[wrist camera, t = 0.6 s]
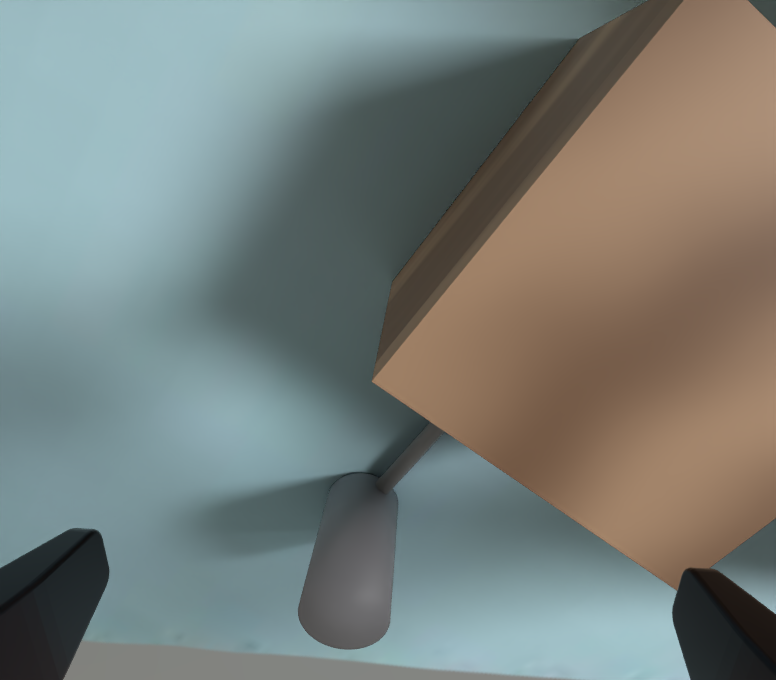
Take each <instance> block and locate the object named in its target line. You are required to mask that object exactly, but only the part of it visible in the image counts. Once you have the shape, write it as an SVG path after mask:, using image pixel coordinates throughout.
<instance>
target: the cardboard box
mask: <svg viewBox="0 0 776 680" xmlns="http://www.w3.org/2000/svg"><path fill="white" fill-rule="evenodd" d="M372 382H373V383H374V384H376V385H377V386H379V387H380V388H382V389H383V390H385V391H386V392H388V393H389V394H391V395H392V396H393V397H395V398H396V399H398V400H399V401H401V402H402V403H404V404H405V405H407V406H408V407H410V408H411V409H412V410H414V411H415V412H417V413H418V414H420V415H421V416H423V417H424V418H426V419H427V420H429V421H430V422H431V423H433V424H434V425H436V426H437V427H439V428H440V429H442V430H443V431H445V432H446V433H448V434H449V435H450V436H452V437H453V438H455V439H456V440H458V441H459V442H461V443H462V444H464V445H465V446H466V447H468V448H469V449H471V450H472V451H474V452H475V453H477V454H478V455H480V456H481V457H483V458H484V459H485V460H487V461H488V462H490V463H491V464H493V465H494V466H496V467H497V468H499V469H500V470H502V471H503V472H504V473H506V474H507V475H509V476H510V477H512V478H513V479H515V480H516V481H518V482H519V483H521V484H522V485H523V486H525V487H526V488H528V489H529V490H531V491H532V492H534V493H535V494H537V495H538V496H540V497H541V498H542V499H544V500H545V501H547V502H548V503H550V504H551V505H553V506H554V507H556V508H557V509H558V510H560V511H561V512H563V513H564V514H566V515H567V516H569V517H570V518H572V519H573V520H575V521H576V522H577V523H579V524H580V525H582V526H583V527H585V528H586V529H588V530H589V531H591V532H592V533H594V534H595V535H596V536H598V537H599V538H601V539H602V540H604V541H605V542H607V543H608V544H610V545H611V546H613V547H614V548H615V549H617V550H618V551H620V552H621V553H623V554H624V555H626V556H627V557H629V558H630V559H632V560H633V561H634V562H636V563H637V564H639V565H640V566H642V567H643V568H645V569H646V570H648V571H649V572H651V573H652V574H653V575H655V576H656V577H658V578H659V579H661V580H662V581H664V582H665V583H667V584H668V585H669V586H671V587H672V588H674V589H675V590H678V587H679V583H680V580H681V576H682V574H683V571H684V570H685V569H687V568H690V567H695V568H710V567H711V566H713V565H714V564H715V563H717V562H718V561H719V560H721V559H722V558H723V557H725V556H726V555H727V554H729V553H730V552H731V551H733V550H734V549H735V548H737V547H738V546H739V545H741V544H742V543H743V542H745V541H746V540H747V539H749V538H750V537H751V536H753V535H754V534H755V533H757V532H758V531H759V530H761V529H762V528H763V527H765V526H766V525H767V524H769V523H770V522H771V521H773V520H774V519H775V518H776V28H775V27H774V26H773V25H772V24H771V23H770V22H769V21H768V20H767V19H766V18H765V17H764V16H763V15H762V14H761V13H760V12H759V11H758V10H757V9H756V8H755V7H754V6H753V5H752V4H751V3H750V2H749V1H748V0H648V1H647V2H645V3H643V4H641V5H639V6H637V7H636V8H634V9H632V10H630V11H628V12H627V13H625V14H623V15H621V16H619V17H617V18H616V19H614V20H612V21H610V22H608V23H606V24H605V25H603V26H601V27H599V28H597V29H596V30H594V31H592V32H590V33H588V34H586V35H585V36H583V37H581V38H579V40H578V41H577V42H576V44H575V45H574V46H573V48H572V49H571V50H570V51H569V53H568V54H567V55H566V57H565V58H564V59H563V61H562V62H561V63H560V64H559V66H558V67H557V68H556V70H555V71H554V72H553V74H552V75H551V76H550V77H549V79H548V80H547V81H546V83H545V84H544V85H543V87H542V88H541V89H540V90H539V92H538V93H537V94H536V96H535V97H534V98H533V100H532V101H531V102H530V103H529V105H528V106H527V107H526V109H525V110H524V111H523V113H522V114H521V115H520V116H519V118H518V119H517V120H516V122H515V123H514V124H513V126H512V127H511V128H510V129H509V131H508V132H507V133H506V135H505V136H504V137H503V139H502V140H501V141H500V142H499V144H498V145H497V146H496V148H495V149H494V150H493V152H492V153H491V154H490V155H489V157H488V158H487V159H486V161H485V162H484V163H483V165H482V166H481V167H480V168H479V170H478V171H477V172H476V174H475V175H474V176H473V178H472V179H471V180H470V181H469V183H468V184H467V185H466V187H465V188H464V189H463V191H462V192H461V193H460V194H459V196H458V197H457V198H456V200H455V201H454V202H453V204H452V205H451V206H450V207H449V209H448V210H447V211H446V213H445V214H444V215H443V217H442V218H441V219H440V220H439V222H438V223H437V224H436V226H435V227H434V228H433V229H432V231H431V232H430V233H429V235H428V236H427V237H426V239H425V240H424V241H423V242H422V244H421V245H420V246H419V248H418V249H417V250H416V252H415V253H414V254H413V255H412V257H411V258H410V259H409V261H408V262H407V263H406V265H405V266H404V267H403V268H402V270H401V271H400V272H399V274H398V275H397V276H396V278H395V279H394V280H393V281H392V285H391V290H390V295H389V299H388V304H387V309H386V314H385V319H384V324H383V329H382V334H381V338H380V343H379V348H378V353H377V358H376V363H375V368H374V373H373V377H372Z"/></svg>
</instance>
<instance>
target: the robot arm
mask: <svg viewBox="0 0 776 680" xmlns="http://www.w3.org/2000/svg"><path fill="white" fill-rule="evenodd" d="M108 579H109V565H108V561H107V556H106V552H105V548H104V543H103V539H102V535H101V534H100V532H99V531H97V530H95V529H82V528H73V529H69V530H67V531H65V532H64V533H62V534H60V535H58V536H57V537H55V538H53V539H51V540H49V541H48V542H46V543H44V544H42V545H41V546H39V547H37V548H35V549H34V550H32V551H30V552H28V553H26V554H25V555H23V556H21V557H19V558H18V559H16V560H14V561H12V562H10V563H9V564H7V565H5V566H3V567H2V568H0V680H63V679H64V677H65V675H66V673H67V671H68V669H69V667H70V664H71V662H72V660H73V658H74V655H75V653H76V651H77V649H78V647H79V645H80V642H81V640H82V638H83V636H84V634H85V632H86V629H87V627H88V625H89V623H90V621H91V618H92V616H93V614H94V612H95V610H96V607H97V605H98V603H99V601H100V599H101V597H102V594H103V592H104V590H105V588H106V585H107V582H108ZM672 617H673V623H674V627H675V630H676V634H677V637H678V640H679V643H680V647H681V650H682V653H683V657H684V660H685V663H686V666H687V670H688V673H689V676H690V680H776V614H775V613H773V612H772V611H771V610H770V609H768V608H767V607H766V606H764V605H763V604H762V603H760V602H759V601H758V600H756V599H755V598H754V597H752V596H751V595H750V594H748V593H747V592H746V591H744V590H743V589H742V588H740V587H739V586H738V585H736V584H735V583H734V582H733V581H731V580H730V579H729V578H727V577H726V576H725V575H723V574H722V573H720V572H719V571H717V570H715V569H710V568H695V567H690V568H687V569H685V570H684V571H683V574H682V576H681V580H680V583H679V587H678V590H677V594H676V597H675V601H674V604H673V610H672Z"/></svg>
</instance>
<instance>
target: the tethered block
mask: <svg viewBox="0 0 776 680" xmlns="http://www.w3.org/2000/svg"><path fill="white" fill-rule="evenodd" d="M444 432H445V431H443V430H442V429H440V428H439V427H437V426H436V425H434V424H433V423H431V422H430V423H429V424H428V425H427V426H426V427H425V428H424V429H423V430H422V432H421V433H420V434H419V435H418V436H417V437H416V438H415V439H414V440H413V442H412V443H411V444H410V445H409V446H408V447H407V448H406V449H405V450H404V452H403V453H402V454H401V455H400V456H399V457H398V458H397V459H396V460H395V462H394V463H393V464H392V465H391V466H390V467H389V468H388V469H387V470H386V472H385V473H384V474H383V475H382V476H381V477H380V478H379V477H377V476H374V475H371V474H366V473H355V474H350V475H346V476H344V477H342V478H340V479H339V480H337V481H336V482H335V483H334V484H333V485H332V487H331V488H330V490H329V492H328V496H327V499H326V503H325V507H324V511H323V515H322V519H321V522H320V526H319V530H318V534H317V538H316V542H315V545H314V549H313V553H312V557H311V561H310V564H309V568H308V572H307V576H306V580H305V584H304V587H303V591H302V595H301V599H300V603H299V607H298V616H299V620H300V623H301V625H302V626H303V628H304V629H305V631H306V632H307V633H308V634H309V635H310V636H311V637H313V638H314V639H315V640H317V641H318V642H320V643H322V644H324V645H327V646H330V647H333V648H338V649H359V648H364V647H367V646H370V645H372V644H374V643H375V642H377V641H378V640H380V639H381V638H382V637H383V636H384V635H385V633H386V632H387V630H388V628H389V624H390V615H391V601H392V586H393V572H394V558H395V543H396V529H397V514H398V499H397V495H396V493H395V491H394V490H393V488H394V486H395V485H396V484H397V483H398V482H399V481H400V480H401V479H402V478H403V477H404V476H405V475H406V473H407V472H408V471H409V470H410V469H411V468H412V467H413V466H414V465H415V464H416V463H417V461H418V460H419V459H420V458H421V457H422V456H423V455H424V454H425V453H426V452H427V451H428V450H429V448H430V447H431V446H432V445H433V444H434V443H435V442H436V441H437V440H438V439H439V438H440V437H441V435H442V434H443V433H444Z"/></svg>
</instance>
